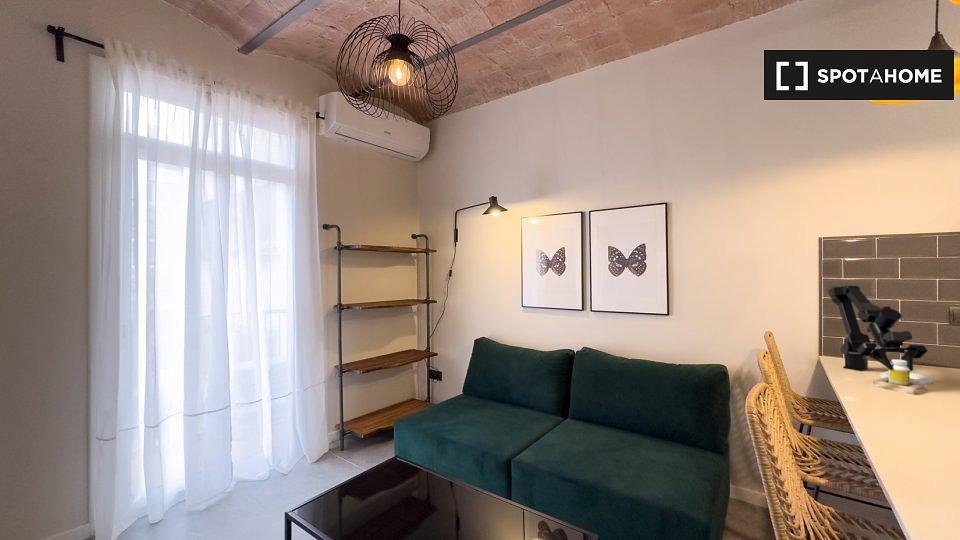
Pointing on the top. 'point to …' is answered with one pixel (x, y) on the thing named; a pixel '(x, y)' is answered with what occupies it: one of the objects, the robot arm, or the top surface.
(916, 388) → the wooden square frame
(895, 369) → the supplement bottle
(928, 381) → the plastic tray
